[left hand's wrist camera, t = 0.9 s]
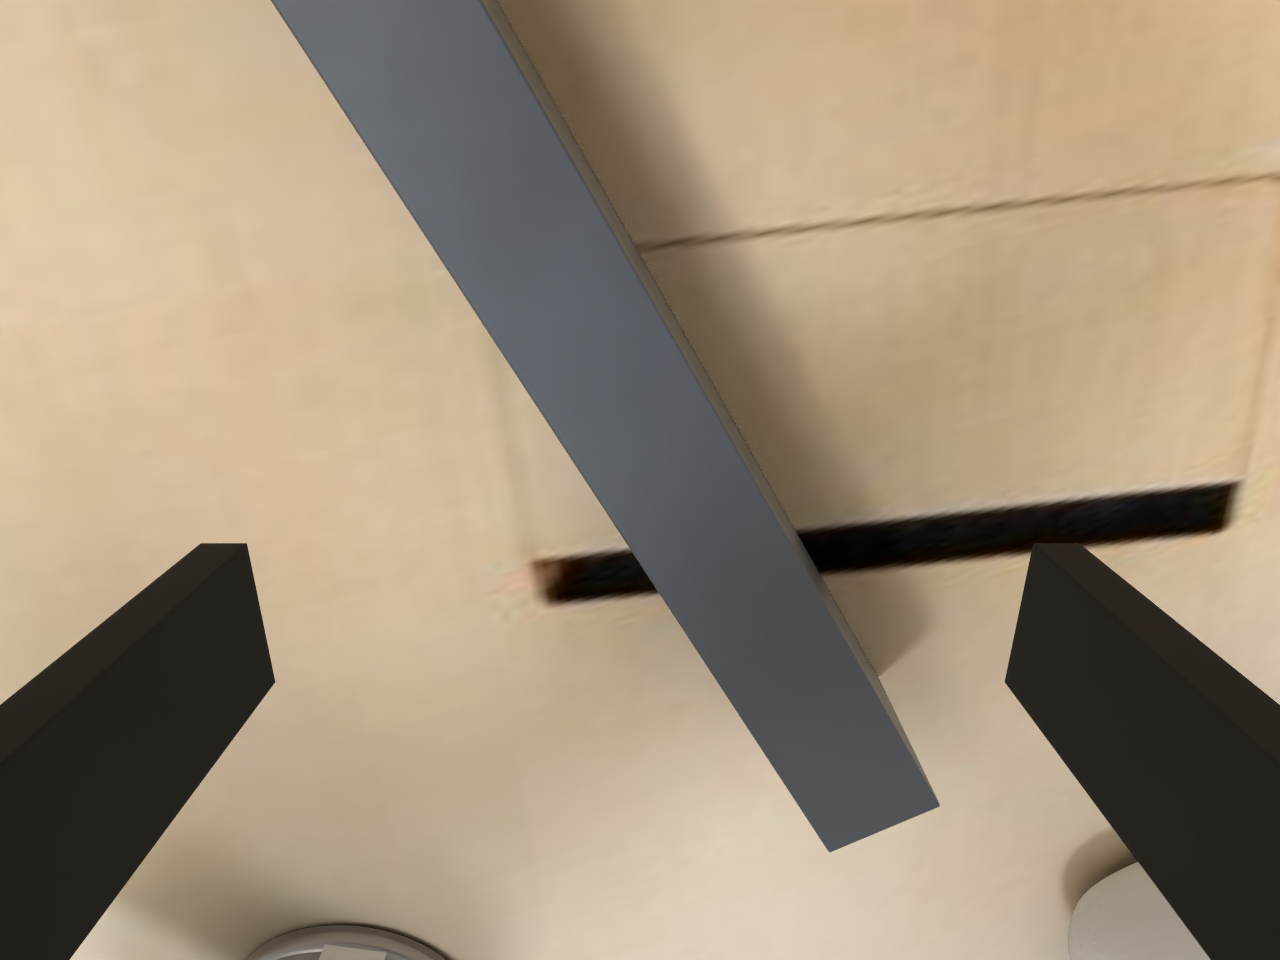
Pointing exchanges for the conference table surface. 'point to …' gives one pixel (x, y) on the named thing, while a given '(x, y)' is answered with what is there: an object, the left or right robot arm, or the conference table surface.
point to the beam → (616, 384)
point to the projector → (1129, 922)
